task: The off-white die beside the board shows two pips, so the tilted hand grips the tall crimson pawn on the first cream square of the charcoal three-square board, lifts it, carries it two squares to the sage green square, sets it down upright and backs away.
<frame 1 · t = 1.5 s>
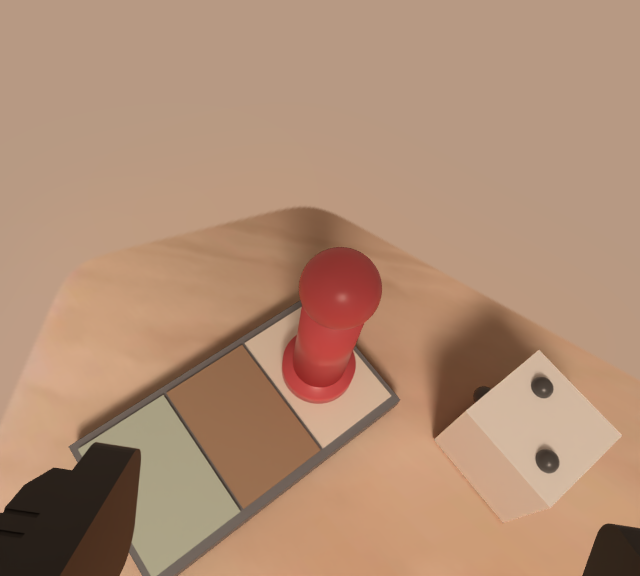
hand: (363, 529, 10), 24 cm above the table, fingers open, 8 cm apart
board: (243, 427, 34), on the table
pawn: (317, 369, 35), point 1 cm above the table, touching board
die: (500, 449, 35), on the table
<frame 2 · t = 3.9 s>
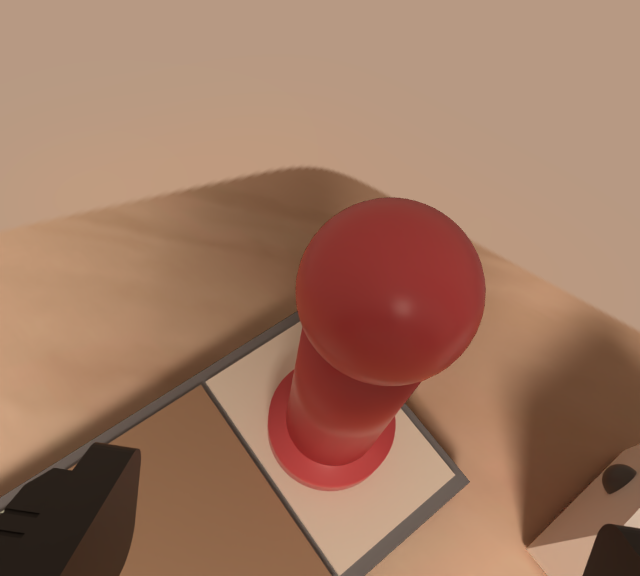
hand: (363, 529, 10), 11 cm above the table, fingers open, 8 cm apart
board: (199, 530, 20), on the table
pawn: (328, 427, 21), point 1 cm above the table, touching board
die: (639, 566, 21), on the table
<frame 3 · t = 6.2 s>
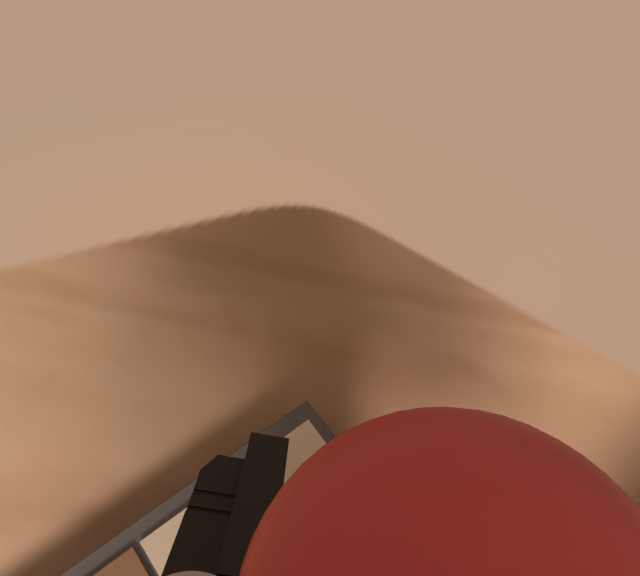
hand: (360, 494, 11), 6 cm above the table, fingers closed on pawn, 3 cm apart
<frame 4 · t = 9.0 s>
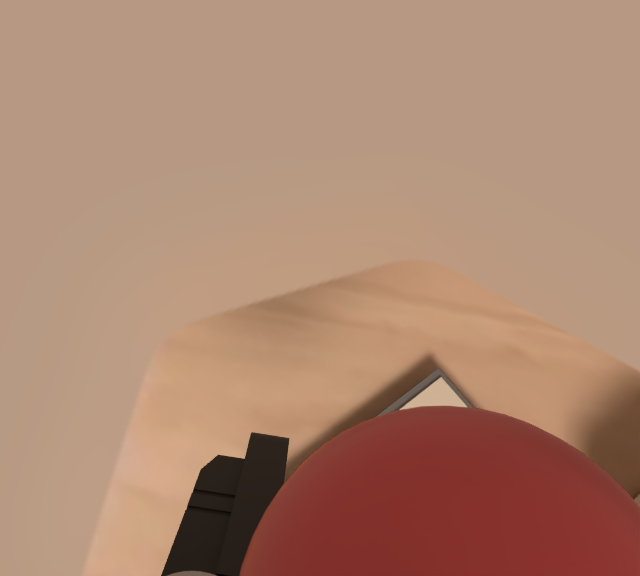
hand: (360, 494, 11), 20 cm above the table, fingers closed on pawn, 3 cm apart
board: (373, 534, 29), on the table
when the fingers open (8 cm above the table, at t = 11.7 s): pawn drops 1 cm, resting on board.
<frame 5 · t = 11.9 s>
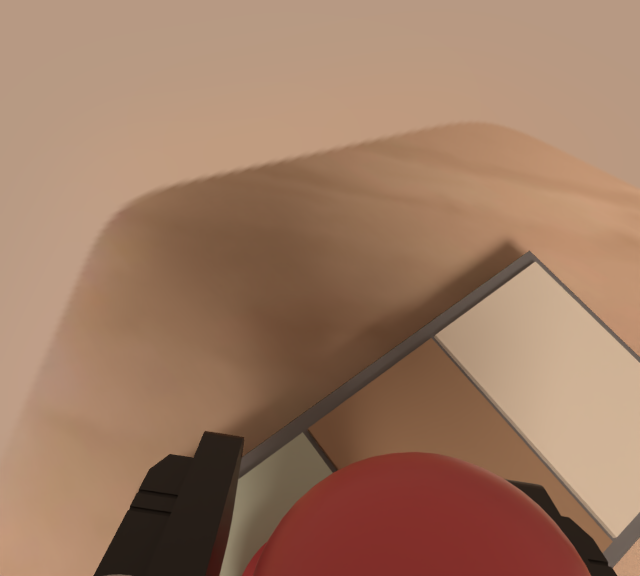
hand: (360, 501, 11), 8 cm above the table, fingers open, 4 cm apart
board: (443, 491, 18), on the table
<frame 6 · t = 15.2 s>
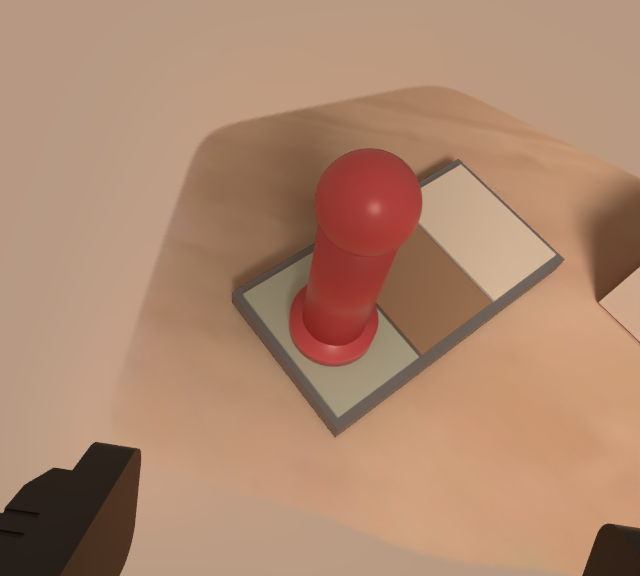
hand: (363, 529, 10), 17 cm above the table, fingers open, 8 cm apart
board: (402, 285, 32), on the table
pawn: (331, 326, 29), point 1 cm above the table, touching board
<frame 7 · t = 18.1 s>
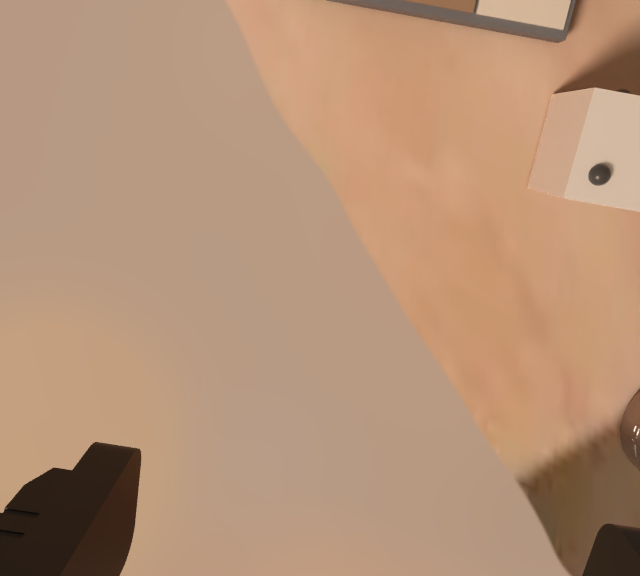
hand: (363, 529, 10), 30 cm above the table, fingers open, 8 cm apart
die: (584, 150, 37), on the table
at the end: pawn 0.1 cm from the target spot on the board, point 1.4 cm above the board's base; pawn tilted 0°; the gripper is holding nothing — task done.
